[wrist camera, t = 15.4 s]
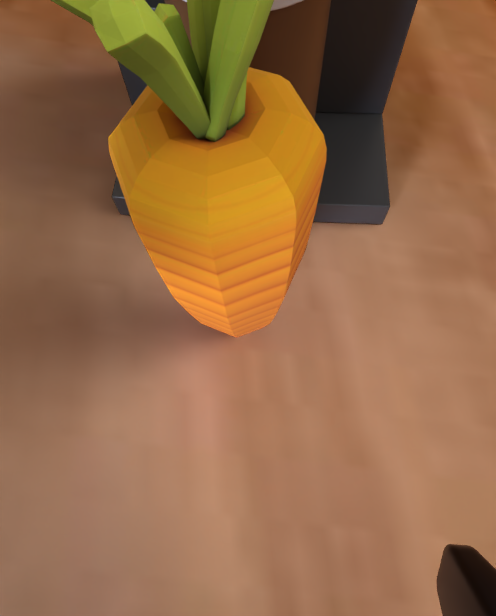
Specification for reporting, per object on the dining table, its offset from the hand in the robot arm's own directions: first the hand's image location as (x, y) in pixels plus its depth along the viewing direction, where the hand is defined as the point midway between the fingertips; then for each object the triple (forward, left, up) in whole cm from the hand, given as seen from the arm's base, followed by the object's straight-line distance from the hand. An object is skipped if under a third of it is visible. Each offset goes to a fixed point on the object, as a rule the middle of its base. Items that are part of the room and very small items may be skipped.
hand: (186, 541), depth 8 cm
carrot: (+6, -5, -9) cm, 12 cm away
